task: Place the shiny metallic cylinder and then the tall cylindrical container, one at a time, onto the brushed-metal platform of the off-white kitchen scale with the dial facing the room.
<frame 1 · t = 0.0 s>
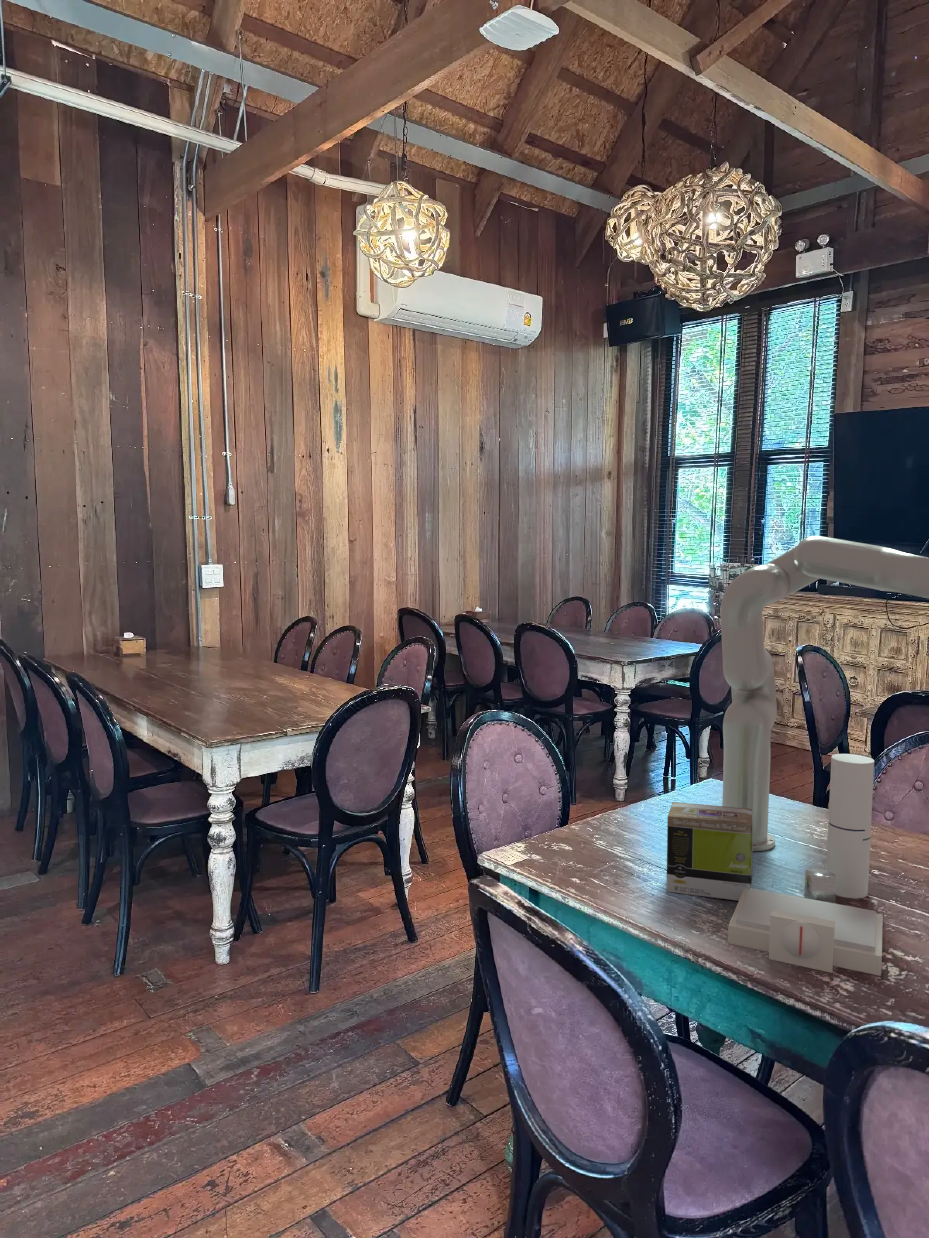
cylindrical container: (846, 891, 154), on the table
tea box: (708, 889, 155), on the table
shiny metallic cylinder: (819, 906, 147), on the table
scale: (806, 937, 135), on the table
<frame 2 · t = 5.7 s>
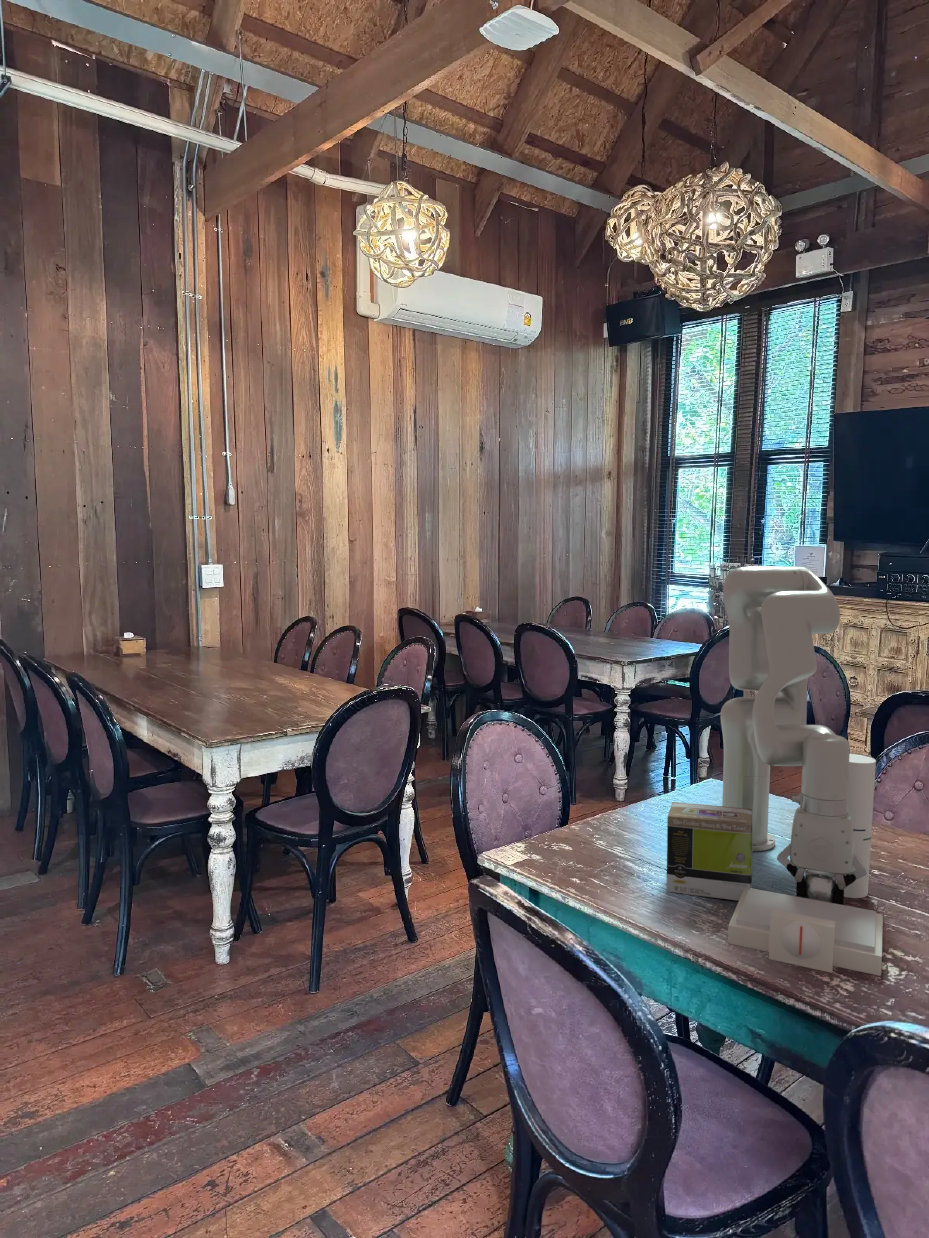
hand: (819, 903, 147), 0 cm above the table, tool pointing down, fingers closed on shiny metallic cylinder, 5 cm apart
cylindrical container: (846, 890, 154), on the table, touching arm
shiny metallic cylinder: (819, 906, 147), on the table, touching gripper
everything else where it was.
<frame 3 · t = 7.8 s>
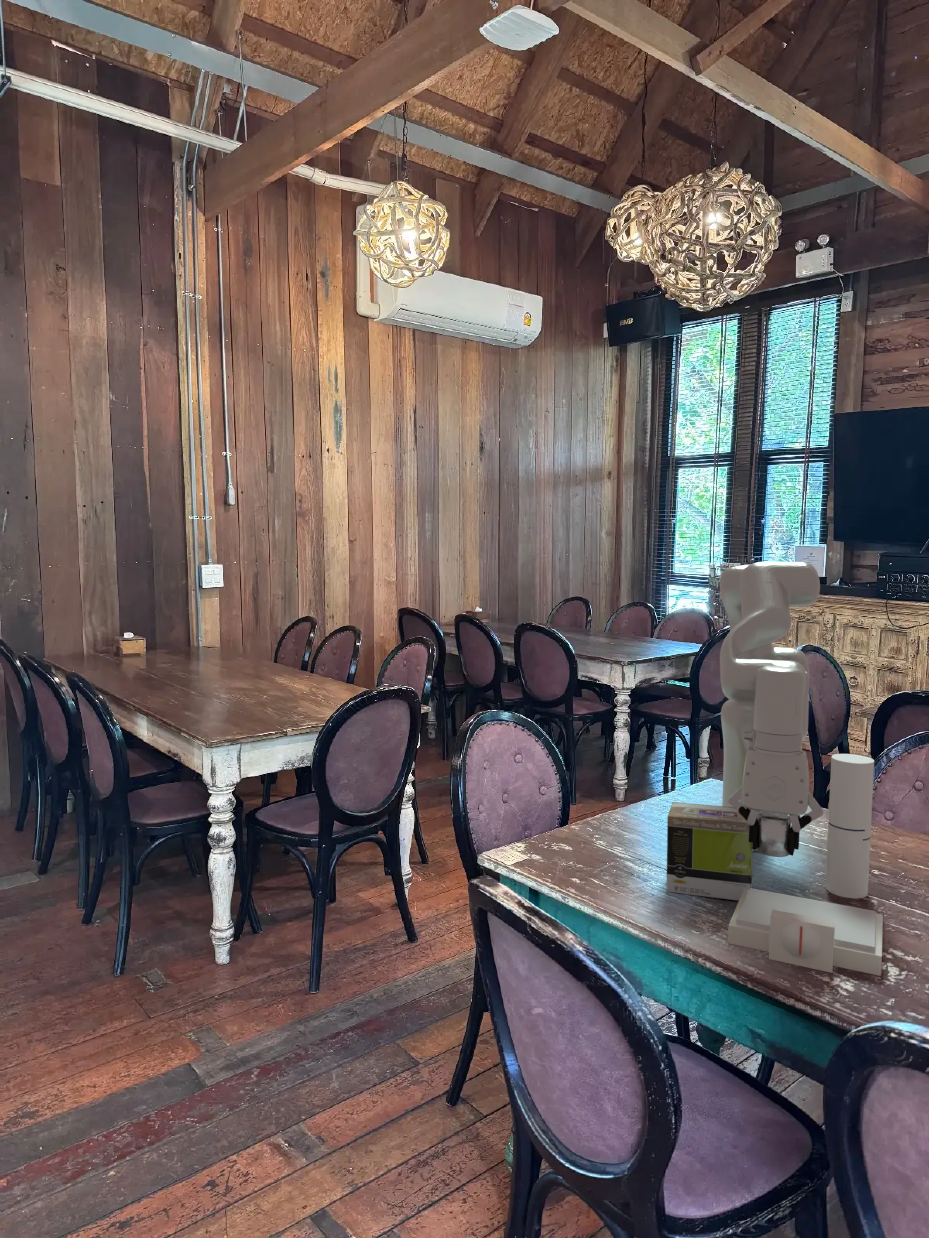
hand: (773, 848, 137), 14 cm above the table, tool pointing down, fingers closed on shiny metallic cylinder, 5 cm apart
cylindrical container: (846, 891, 154), on the table
shiny metallic cylinder: (773, 851, 137), point 13 cm above the table, touching gripper
everything else where it was.
when the fingers open (5 cm above the table, at t = 9.7 s): shiny metallic cylinder drops 1 cm, resting on scale.
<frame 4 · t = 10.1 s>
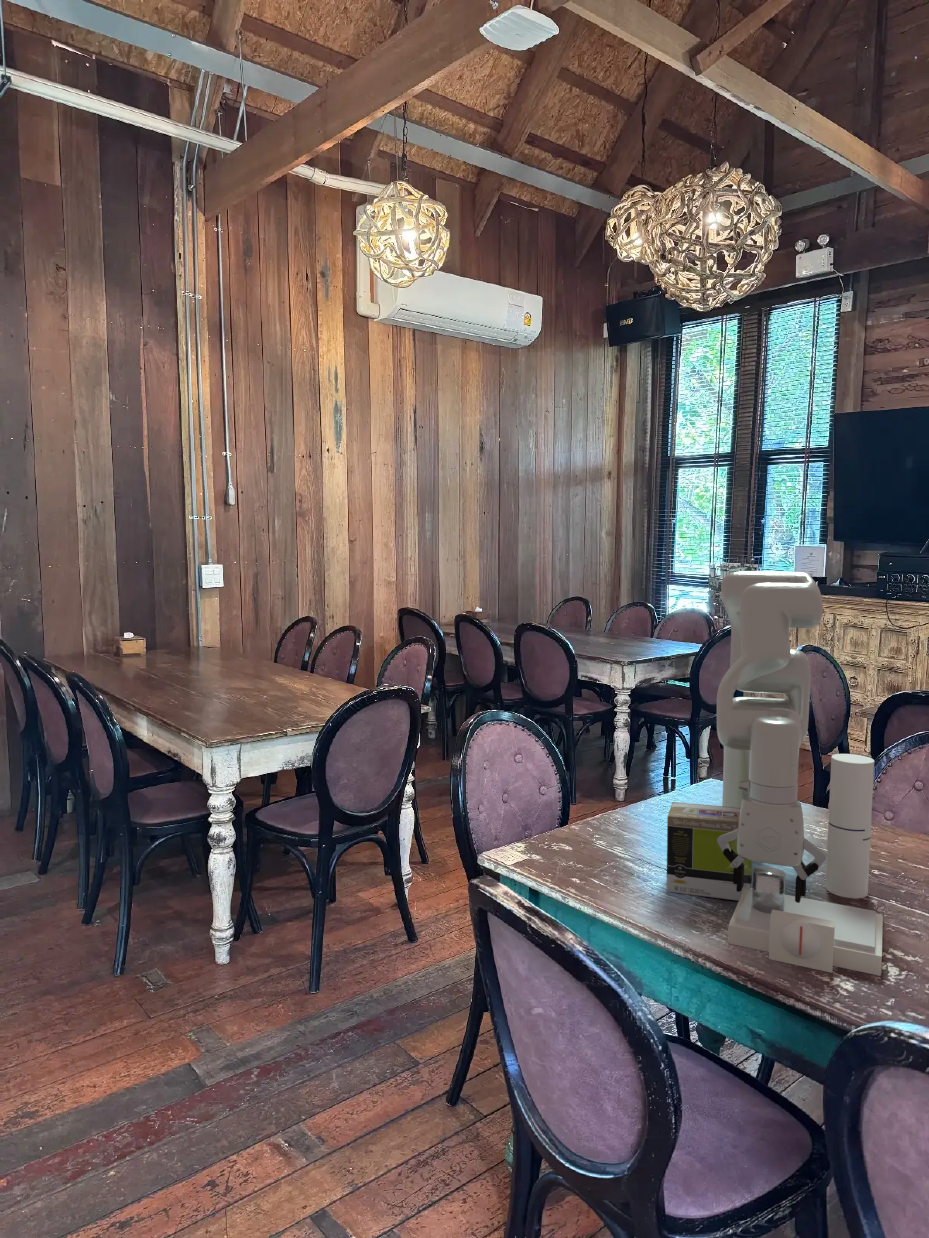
hand: (768, 893, 137), 6 cm above the table, tool pointing down, fingers open, 8 cm apart
shiny metallic cylinder: (767, 907, 138), point 4 cm above the table, touching scale
everything else where it was.
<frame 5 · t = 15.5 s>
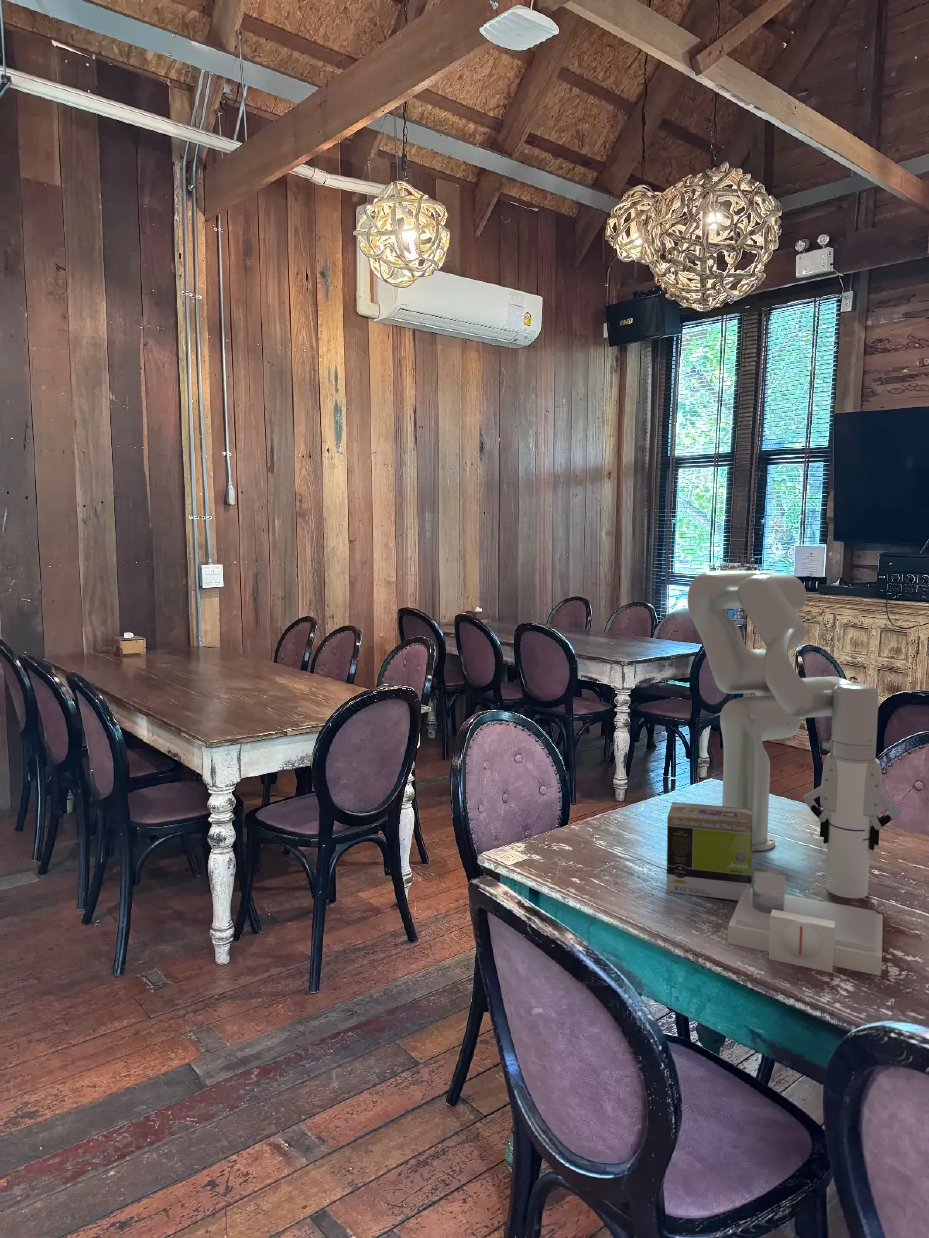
hand: (848, 844, 153), 9 cm above the table, tool pointing down, fingers closed on cylindrical container, 7 cm apart
cylindrical container: (846, 891, 154), on the table, touching gripper
everything else where it was.
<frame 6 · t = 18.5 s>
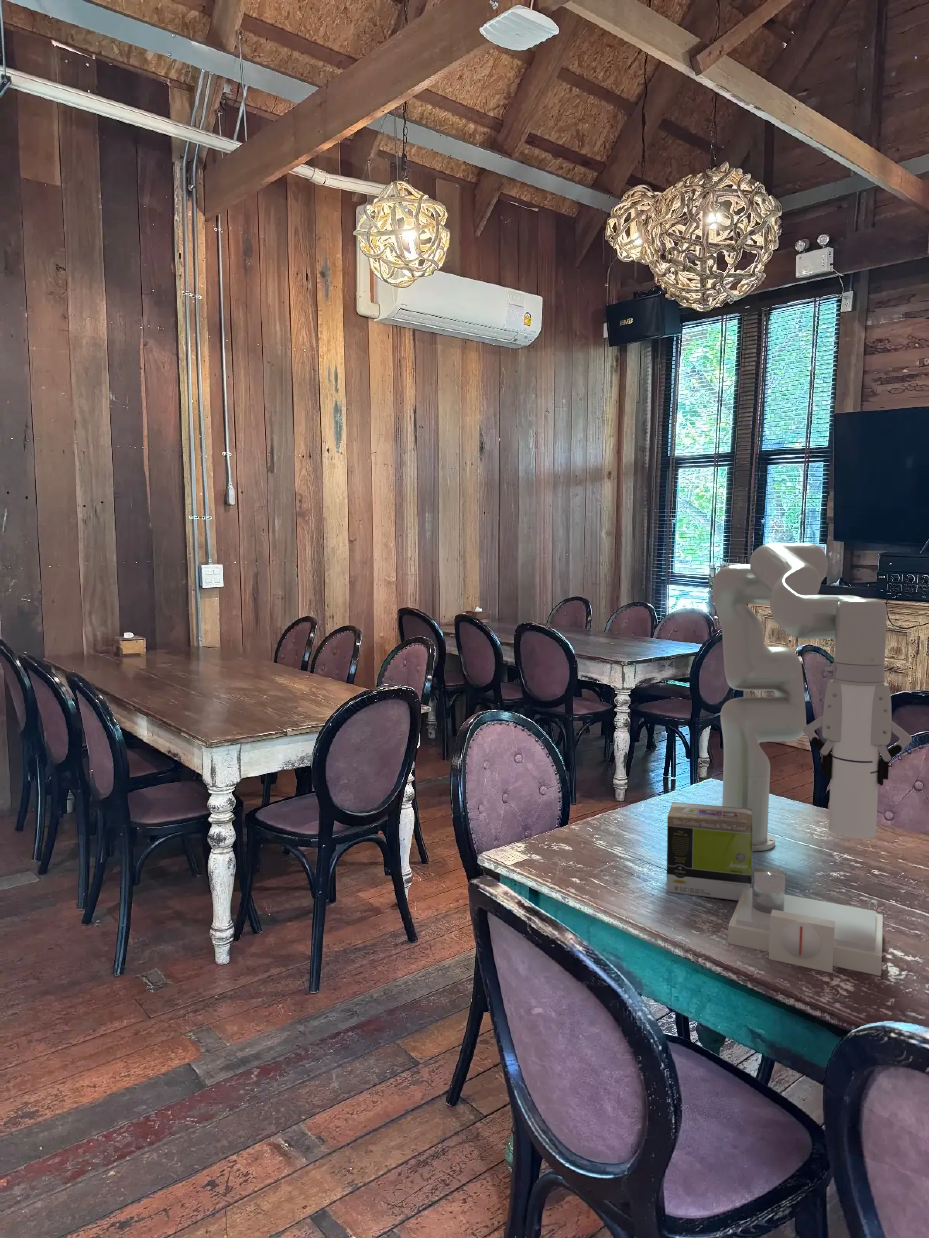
hand: (854, 779, 137), 25 cm above the table, tool pointing down, fingers closed on cylindrical container, 7 cm apart
cylindrical container: (852, 832, 137), point 16 cm above the table, touching gripper
everything else where it was.
when the fingers open (14 cm above the table, at t = 21.7 s): cylindrical container stays where it is, resting on scale.
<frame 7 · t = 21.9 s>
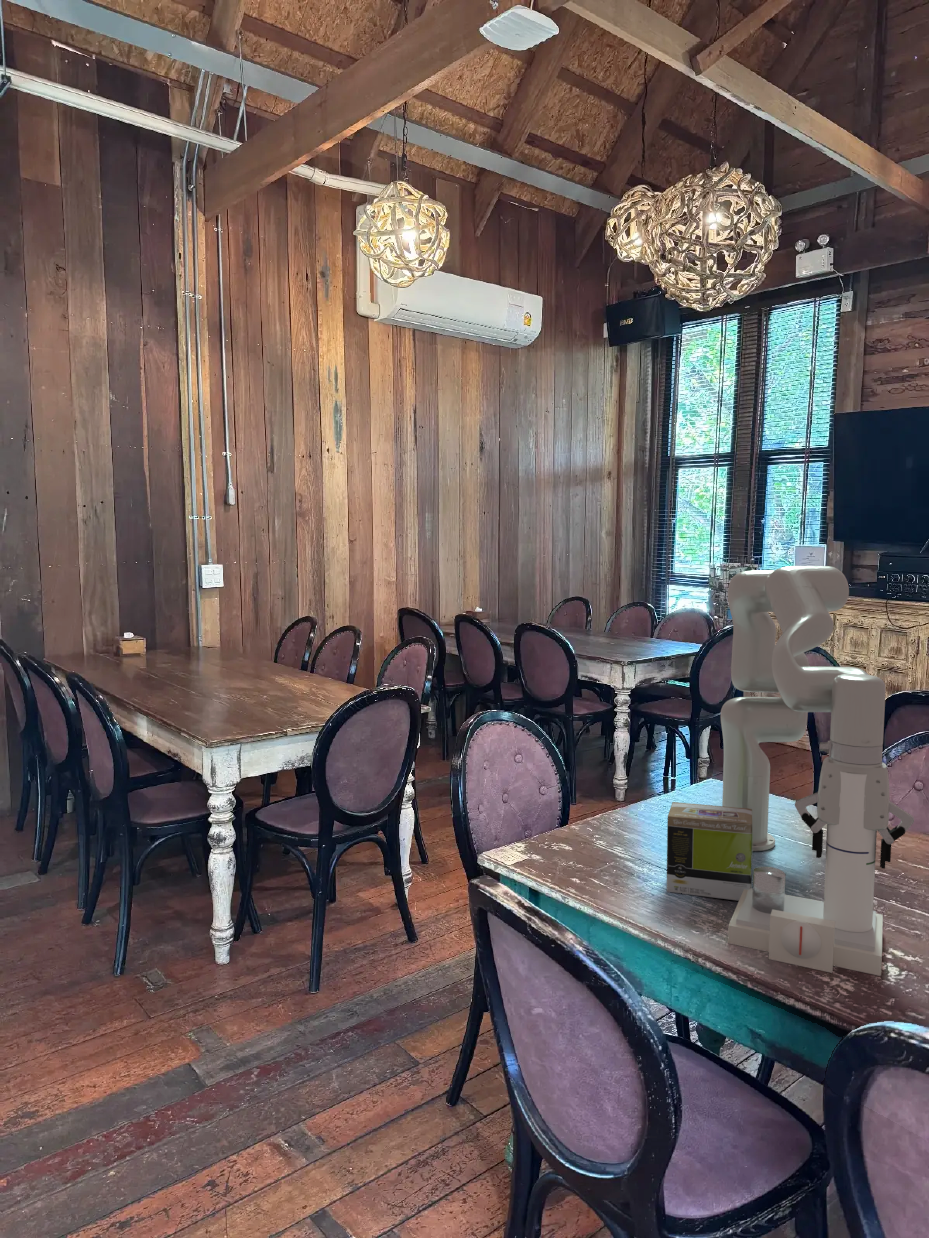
hand: (850, 859, 131), 14 cm above the table, tool pointing down, fingers open, 8 cm apart
cylindrical container: (847, 923, 132), point 4 cm above the table, touching scale
everything else where it was.
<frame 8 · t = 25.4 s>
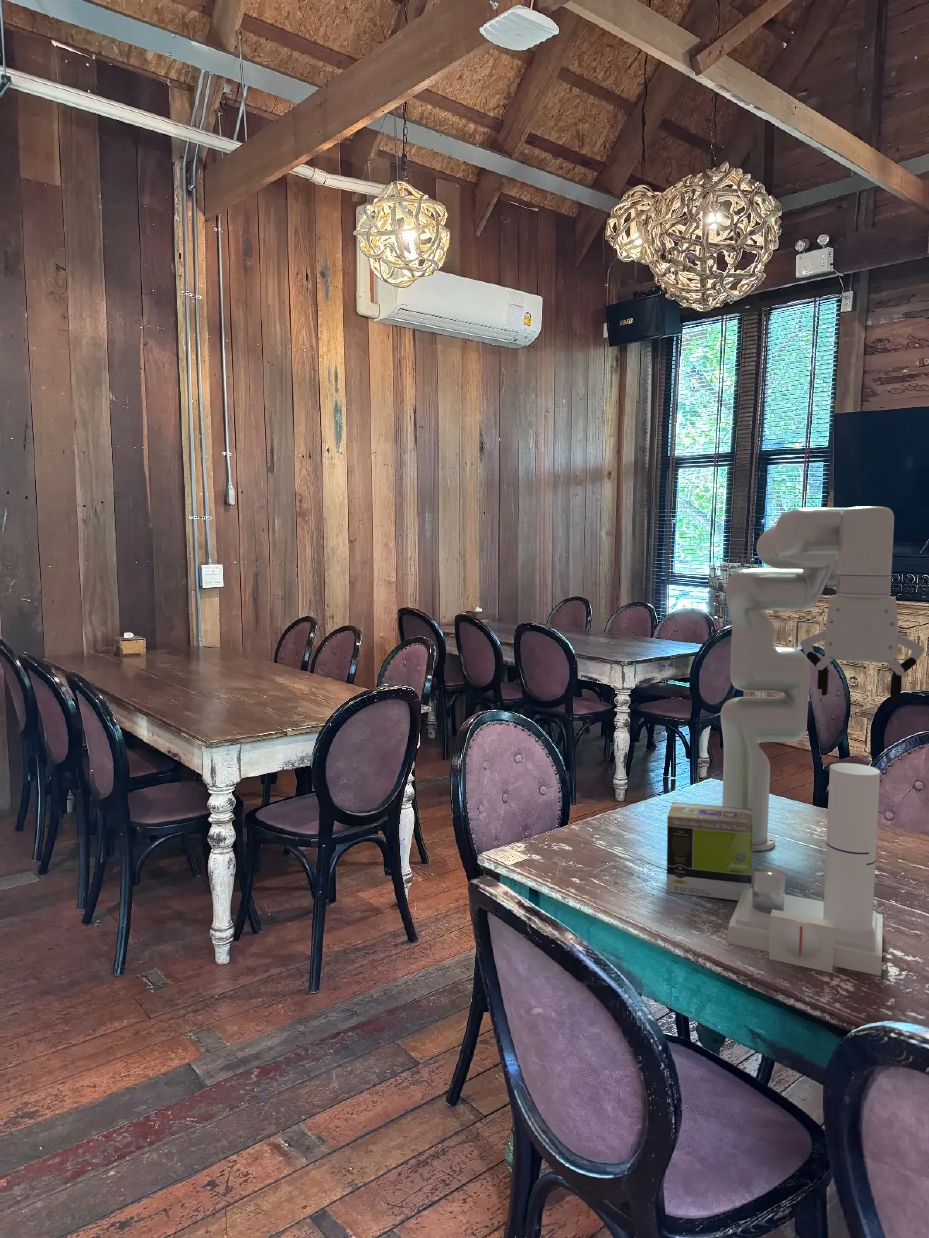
hand: (858, 696, 129), 40 cm above the table, tool pointing down, fingers open, 9 cm apart
nothing on the table moved.
at the end: cylindrical container inside the target area on the scale (6.0 cm from its centre), point 3.6 cm above the scale's base; cylindrical container tilted 0°; shiny metallic cylinder inside the target area on the scale (6.0 cm from its centre), point 3.8 cm above the scale's base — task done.
